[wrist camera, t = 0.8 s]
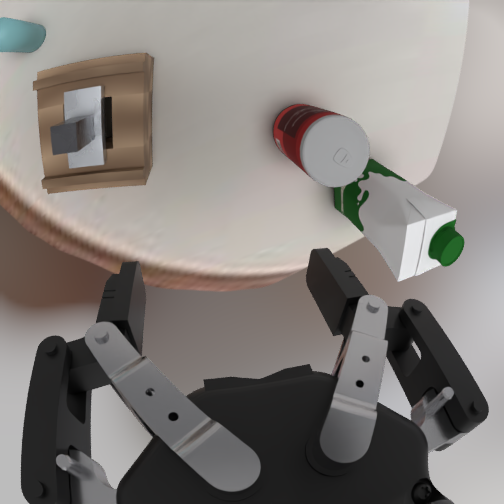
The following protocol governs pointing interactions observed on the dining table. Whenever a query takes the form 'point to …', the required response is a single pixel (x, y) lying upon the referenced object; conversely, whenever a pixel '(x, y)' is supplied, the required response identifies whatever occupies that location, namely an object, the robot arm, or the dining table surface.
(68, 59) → the dining table surface
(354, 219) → the milk carton
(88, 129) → the latch bar
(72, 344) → the robot arm
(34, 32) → the dowel
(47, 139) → the socket block
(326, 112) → the canned food
